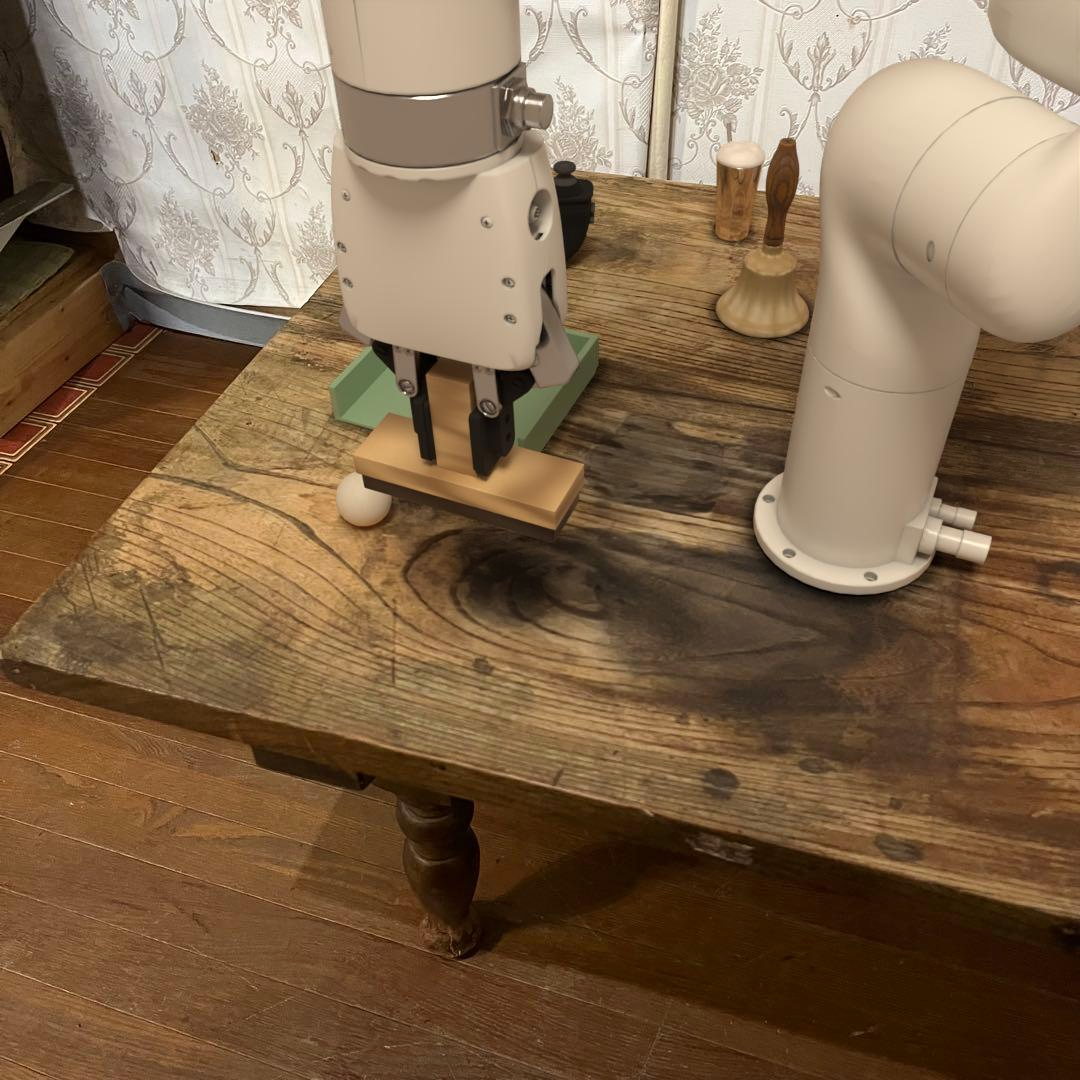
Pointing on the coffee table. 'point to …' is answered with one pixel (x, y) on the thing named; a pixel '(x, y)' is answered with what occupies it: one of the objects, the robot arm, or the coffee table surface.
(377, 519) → the white ball
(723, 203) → the milkshake
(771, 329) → the hand bell
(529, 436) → the dustpan
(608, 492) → the coffee table surface
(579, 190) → the controller
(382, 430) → the brush
